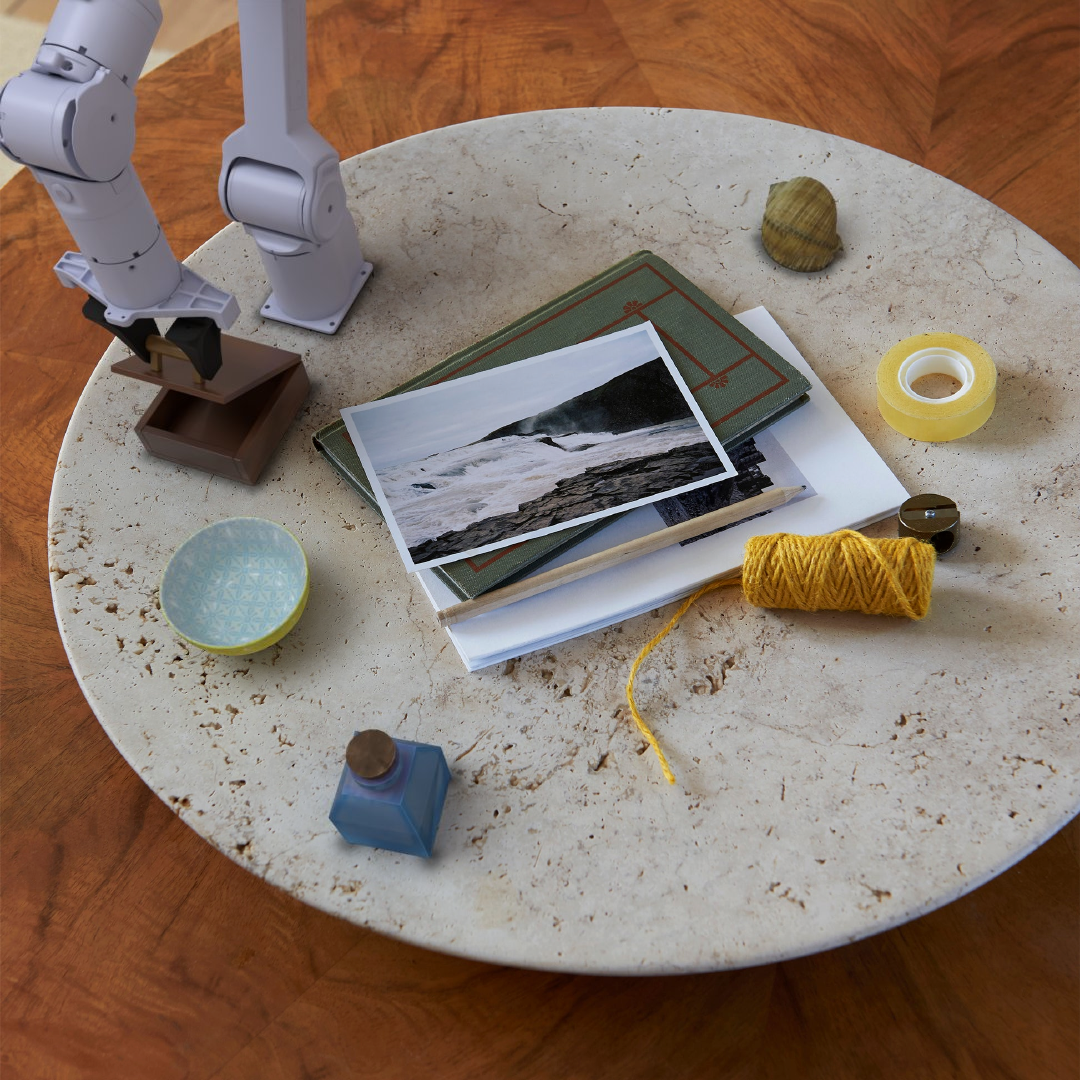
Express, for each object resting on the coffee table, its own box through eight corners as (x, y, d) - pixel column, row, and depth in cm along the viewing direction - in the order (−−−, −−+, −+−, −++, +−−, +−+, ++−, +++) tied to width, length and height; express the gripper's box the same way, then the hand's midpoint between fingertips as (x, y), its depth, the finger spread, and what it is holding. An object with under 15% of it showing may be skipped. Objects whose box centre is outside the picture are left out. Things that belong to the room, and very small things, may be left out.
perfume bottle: (429, 858, 74) (404, 809, 64) (346, 841, 75) (308, 791, 65) (450, 775, 77) (430, 715, 67) (370, 760, 78) (337, 698, 68)
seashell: (823, 286, 106) (874, 217, 102) (807, 289, 100) (861, 216, 96) (748, 230, 108) (795, 161, 104) (728, 230, 102) (778, 156, 98)
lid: (224, 404, 83) (224, 363, 81) (110, 372, 85) (108, 331, 83) (301, 360, 93) (302, 323, 91) (198, 332, 95) (197, 295, 93)
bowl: (201, 702, 81) (174, 670, 75) (172, 582, 86) (145, 544, 81) (342, 651, 83) (325, 616, 77) (304, 536, 88) (286, 496, 83)
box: (253, 486, 91) (240, 461, 88) (148, 454, 93) (132, 429, 90) (312, 387, 96) (302, 360, 93) (212, 359, 99) (199, 332, 95)
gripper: (0, 251, 73) (80, 376, 85) (180, 299, 70) (237, 422, 82) (57, 185, 76) (126, 315, 88) (230, 228, 73) (279, 356, 85)
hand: (183, 362), depth 85 cm, fingers closed on lid, 5 cm apart
